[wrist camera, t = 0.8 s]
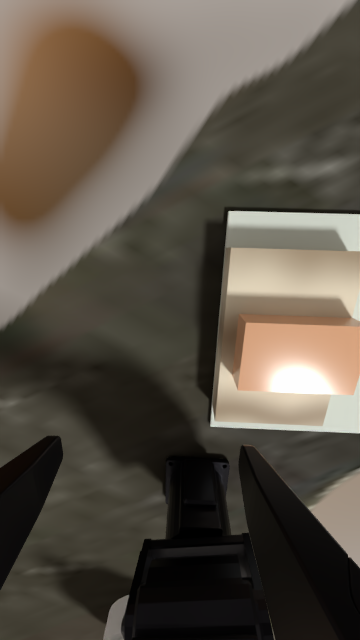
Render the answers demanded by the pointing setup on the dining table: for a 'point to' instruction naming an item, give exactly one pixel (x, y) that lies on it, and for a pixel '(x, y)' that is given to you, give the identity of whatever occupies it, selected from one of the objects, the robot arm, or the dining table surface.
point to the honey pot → (115, 619)
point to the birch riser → (278, 299)
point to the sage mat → (301, 235)
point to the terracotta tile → (297, 354)
